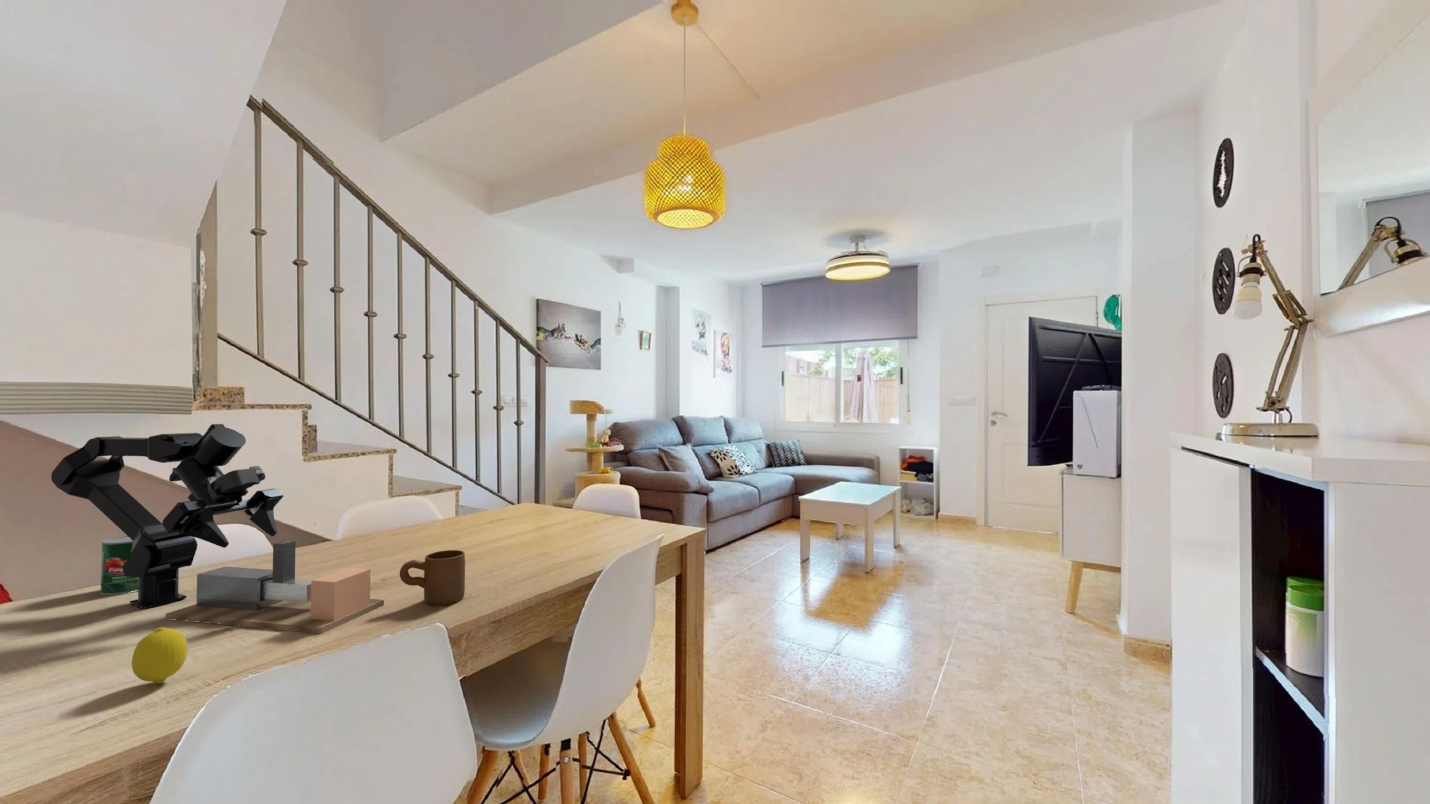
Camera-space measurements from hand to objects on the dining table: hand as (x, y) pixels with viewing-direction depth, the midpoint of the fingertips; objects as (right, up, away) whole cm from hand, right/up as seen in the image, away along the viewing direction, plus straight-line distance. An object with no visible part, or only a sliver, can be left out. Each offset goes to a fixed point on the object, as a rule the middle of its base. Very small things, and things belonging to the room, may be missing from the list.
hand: (251, 540), depth 105 cm
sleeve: (-2, -13, 0) cm, 13 cm away
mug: (+33, -14, +4) cm, 36 cm away
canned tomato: (-36, -14, +11) cm, 41 cm away
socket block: (+20, -13, -4) cm, 24 cm away
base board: (+6, -14, -1) cm, 15 cm away
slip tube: (+3, -11, -1) cm, 11 cm away
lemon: (+11, -13, -28) cm, 33 cm away
